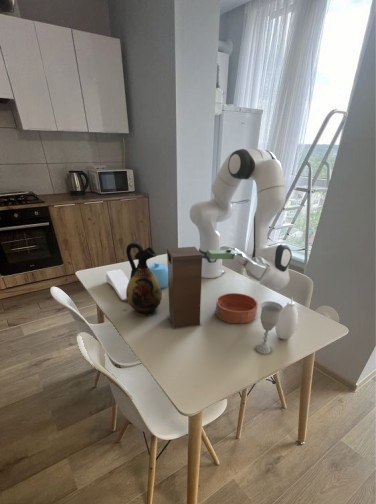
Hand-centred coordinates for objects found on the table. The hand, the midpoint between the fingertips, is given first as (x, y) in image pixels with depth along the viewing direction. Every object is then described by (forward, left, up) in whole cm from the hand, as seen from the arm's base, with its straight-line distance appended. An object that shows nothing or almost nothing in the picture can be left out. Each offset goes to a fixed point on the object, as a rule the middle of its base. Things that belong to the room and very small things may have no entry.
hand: (231, 253), depth 111 cm
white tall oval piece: (+22, +16, -28) cm, 39 cm away
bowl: (0, +5, -28) cm, 28 cm away
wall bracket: (-37, -42, -28) cm, 63 cm away
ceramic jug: (-13, -34, -28) cm, 46 cm away
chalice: (+27, +5, -28) cm, 39 cm away
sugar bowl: (-40, -23, -28) cm, 54 cm away
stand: (0, -19, -28) cm, 33 cm away
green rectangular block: (0, -3, -1) cm, 3 cm away
